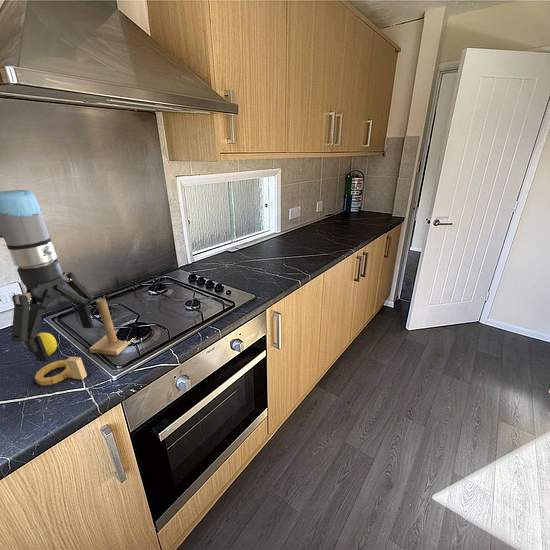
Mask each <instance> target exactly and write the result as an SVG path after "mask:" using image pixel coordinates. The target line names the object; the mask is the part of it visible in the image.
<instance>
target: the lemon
mask: <svg viewBox="0 0 550 550" xmlns="http://www.w3.org/2000/svg"><path fill="white" fill-rule="evenodd" d="M36 336H40V337H41V340H42V342H43V344H44V347H45V349H46V351H47V354H48V356H49V357H50V356H52V354H54V353H55V352H56V350H57V348H58V342H57V340H56V337H54V335H53V334H51V333H49V332H37V334H36Z"/></svg>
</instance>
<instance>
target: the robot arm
mask: <svg viewBox="0 0 550 550" xmlns="http://www.w3.org/2000/svg"><path fill="white" fill-rule="evenodd" d="M0 239H3V240H4V243H5V244H6V248H7V250H8V253H9V255H10V257H11V260H12V262H13V265H14V266H15V267H17V269H16V272H17V274H18V276H19V279H20V281H21V284H23V286H25V289H26V291H25V292H24V293H21V294H13V295H12V296H11V299H12V302H13V303H12V304H13V317H12V328H11V336H10V337H11V342H14V343H15V342H17V343H25V346H26V348H27V350H28V351H29V352H30V353H33V355H34V357H35V359H36V361H37V362H43V363H44V362H45V363H48V362H49V361H50V360H51V359H50V356H48V354H47V351H46V349H45V347H44V344H43V342H42V340H41V337H40V336H36V335H37V334H38V330H39V328H40V324H41V321H42V317H43V314H44V311H45V309H47V308H48V305H49V304H52V303H53V302H54V301H56V300H58V299H60V298H62V297H63V298H65V299H67V300H69V301H71V302H73V303H75V304H77V305H76V306H75V308H76V312H77V314H78V317H79V319H80V324H81V325H82V328H83V329H93V328H94V327H95V325H94V322H93V320H92V317H91V315H92V311H91V308H90V306H91V305H92V301H91V300H93V299H94V295H93V294H92V293H91V292H90V291H89V290H88V289H87V288H86V286H84V285H83V284H82V283H81V282H80V280H78V279H77V278H78V277H77V276H76V275H75V274H76V273H74V272H73V271H71V272H70V271H63V269H62V266H61V264H60V261H59V260H57V253H56V249H55V247H54V244H53V241H52V239H51V236H50V234H49V230H48V227H47V224H46V222H45V218H44V216H43V211H42V208H41V207H40V204H39V202H38V200H37V197H36V196H35V194H34V192H32V191H31V190H28V189H14V190H0ZM65 284H66V285H67V286H69V287H70V288H71V289H72V290H73V291H74V292H73V291H72V290H70V288H69V289H68V288H67V287H65ZM38 303H39V304H38Z"/></svg>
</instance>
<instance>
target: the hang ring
mask: <svg viewBox="0 0 550 550" xmlns="http://www.w3.org/2000/svg"><path fill="white" fill-rule="evenodd" d="M58 368H65V369H63V371H61V372H60V373H57V374H56V375H53V376H47V377H46V375H47V374H48V373H49V372H51V371H53V370H56V369H58ZM87 376H88V374H87V371H86V368H85V365H84V363H83V360H82V357H80V356H70V357H68V358H67V359H61V360H55V361H52V362H50V363H48V364H46V365H44V366H43V367H42V368H40V369H39V370H38V371H37V372H36V373H35V376H34V380H35V382H36V383H37V384H38V385H40V386H52V385H55V384H57V383H59V382H62V381H64V380H65V379H67V378H70V379H73V380H74V379H75V380H81V381H83V380H84V379H86V377H87Z"/></svg>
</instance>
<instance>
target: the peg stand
mask: <svg viewBox="0 0 550 550" xmlns="http://www.w3.org/2000/svg"><path fill="white" fill-rule="evenodd" d="M95 303H96V305H97V310H98V311H99V315H100V318H101V319H100V320H101V323H102V325H103V329H104V332H105V335H103V337H101V338H100V339H99V340H98V341H97V342H95V343H94V344H93V345H92V346H90V347H89V352H90V353H93V354H100V355H110V356H118V355H119V354H121V353H122V352H123V351H124V350H125V349H126V348H127V347H128V346H129V345H130V344H131V343H132V342H133V341H134V340H135V339H136V338H137V336H136V337H135V338H132V339H131V340H130V341H128V342H127V341H119V340H118V339H117V336H116V334H117V332H118V331H116V329H115V327H114V322H113V320H112V316H111V312H110V310H109V305H108V303H107V299H106V298H105V297H104V298H99V299H98V298H97V300H96V301H95Z"/></svg>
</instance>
